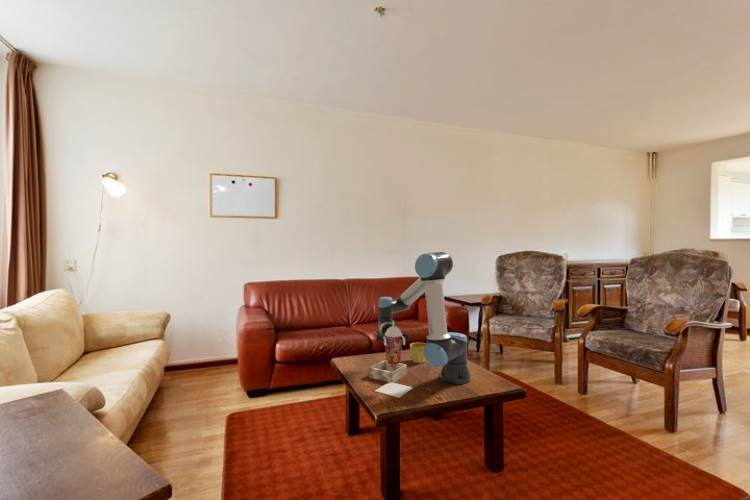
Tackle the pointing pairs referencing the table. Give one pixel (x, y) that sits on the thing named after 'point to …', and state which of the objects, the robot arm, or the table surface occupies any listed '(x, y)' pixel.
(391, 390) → the mat
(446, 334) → the robot arm
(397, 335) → the smoothie
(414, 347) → the plant pot
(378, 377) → the holder
